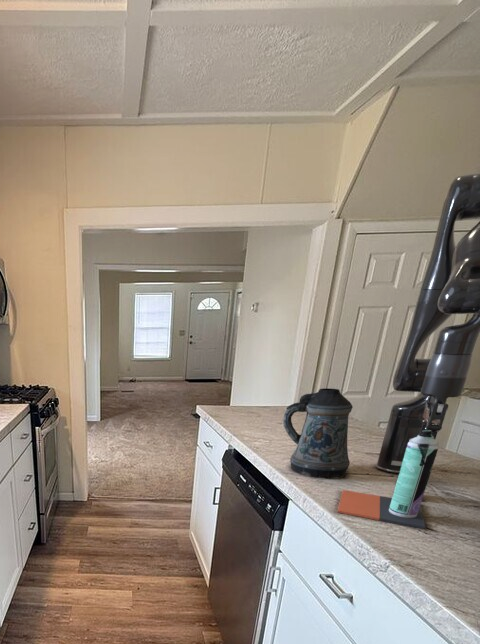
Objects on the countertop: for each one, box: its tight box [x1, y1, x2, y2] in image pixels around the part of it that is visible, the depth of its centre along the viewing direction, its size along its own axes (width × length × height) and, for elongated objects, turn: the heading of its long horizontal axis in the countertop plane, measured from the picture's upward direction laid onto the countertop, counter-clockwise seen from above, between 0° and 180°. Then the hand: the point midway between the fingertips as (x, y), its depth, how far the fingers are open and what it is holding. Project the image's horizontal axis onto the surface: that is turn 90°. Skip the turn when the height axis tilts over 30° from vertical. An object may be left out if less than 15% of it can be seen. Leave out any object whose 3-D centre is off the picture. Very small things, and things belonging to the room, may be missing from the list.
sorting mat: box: [337, 489, 426, 530], centre depth 99 cm, size 16×17×1 cm
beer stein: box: [282, 387, 354, 479], centre depth 122 cm, size 16×19×25 cm
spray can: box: [389, 430, 440, 518], centre depth 92 cm, size 6×6×20 cm
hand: (425, 442), depth 99 cm, fingers open, 8 cm apart
